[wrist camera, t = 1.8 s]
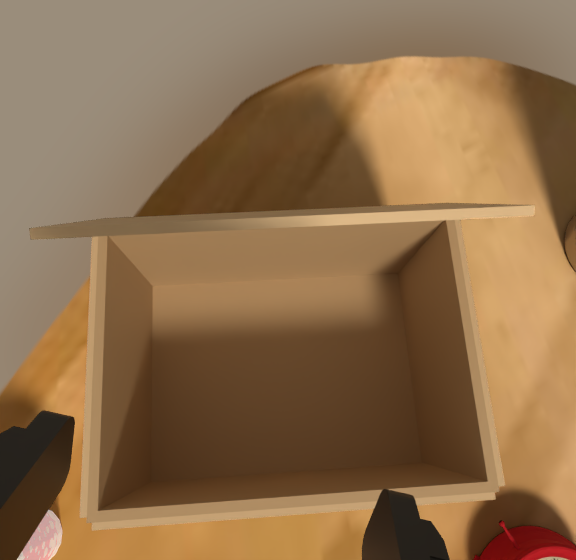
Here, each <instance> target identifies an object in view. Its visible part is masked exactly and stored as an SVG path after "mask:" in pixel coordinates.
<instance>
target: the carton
mask: <svg viewBox="0 0 576 560" xmlns="http://www.w3.org/2000/svg"><path fill="white" fill-rule="evenodd" d="M499 486H505V482H504V476H503V470H502V464H501V458H500V452H499V446H498V440H497V434H496V428H495V422H494V416H493V410H492V404H491V398H490V393H489V387H488V381H487V375H486V369H485V363H484V357H483V351H482V345H481V339H480V333H479V327H478V321H477V315H476V309H475V304H474V298H473V292H472V286H471V280H470V274H469V268H468V262H467V256H466V250H465V244H464V238H463V232H462V226H461V220H440V221H419V222H397V223H376V224H354V225H333V226H312V227H290V228H269V229H247V230H226V231H205V232H183V233H162V234H141V235H119V236H98V237H92V250H91V272H90V294H89V317H88V340H87V362H86V385H85V408H84V431H83V453H82V476H81V499H80V518H85V517H87V523H92V530H105V529H118V528H131V527H144V526H157V525H170V524H183V523H196V522H209V521H222V520H235V519H248V518H261V517H274V516H287V515H300V514H313V513H326V512H339V511H352V510H365V509H374V508H375V506H376V503H377V501H378V498H379V495H380V493H381V491H382V490H383V489H388V490H392V491H397V492H401V493H405V494H410V495H413V496H414V498H415V501H416V505H430V504H443V503H456V502H469V501H482V500H495V499H496V498H495V492H499Z"/></svg>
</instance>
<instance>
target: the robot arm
mask: <svg viewBox="0 0 576 560" xmlns="http://www.w3.org/2000/svg"><path fill="white" fill-rule="evenodd" d="M564 242H565V250H566V253H567V256H568V259H569V261H570V263H571V265H572V267H573V268H574V270H575V271H576V215H575V216H574V217H573V218H572V220H571V221H570V223H569V224H568V227H567V229H566V232H565V241H564ZM74 425H75V420H74V417H71V416H67V415H62V414H58V413H53V412H49V411H41V412H40V413H39V414H38V415H37V416H36V418H35V419H34V420H33V421H32V422H31V423H30V425H29V426H28V427H27V428H26V429H24V428H20V427H15V426H13V427H11V428H10V429H8V430H6V431H4V432H2V433H1V434H0V560H17V559H18V557H19V555H20V554H21V552H22V551H23V549H24V548H25V546H26V544H27V543H28V541H29V540H30V538H31V537H32V535H33V533H34V532H35V530H36V529H37V527H38V526H39V524H40V522H41V521H42V519H43V518H44V516H45V515H46V513H47V511H48V510H49V508H50V507H51V505H52V504H53V502H54V500H55V499H56V497H57V496H58V494H59V493H60V491H61V489H62V487H63V485H64V483H65V481H66V478H67V476H68V472H69V469H70V463H71V454H72V444H73V435H74ZM362 560H450V559H449V556H448V553H447V549H446V546H445V542H444V540H443V538H442V537H441V535H440V534H439V532H438V531H437V530H436V528H435V527H434V525H433V524H432V522H431V521H427V520H423V519H420V517H419V513H418V509H417V505H416V501H415V498H414V496H413V495H410V494H405V493H401V492H397V491H392V490H388V489H383V490H382V491H381V493H380V495H379V498H378V501H377V503H376V506H375V508H374V511H373V513H372V516H371V518H370V521H369V523H368V526H367V528H366V531H365V534H364V538H363V545H362Z"/></svg>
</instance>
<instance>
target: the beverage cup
mask: <svg viewBox="0 0 576 560" xmlns="http://www.w3.org/2000/svg"><path fill="white" fill-rule="evenodd" d="M61 538H62V528H61V524H60V520H59V519H58V517H57V516H56V515H55V514H54V512H53V511H51V510H48V511H47V513H46V515H45V516H44V518H43V519H42V521H41V522H40V524H39V526H38V527H37V529H36V530H35V532H34V533H33V535H32V537H31V538H30V540H29V541H28V543H27V544H26V546H25V548H24V549H23V551H22V552H21V554H20V555H19V557H18V559H17V560H50V559H51V558H52V557H53V556H54V555H55V554H56V552H57V550H58V548H59V546H60V544H61Z"/></svg>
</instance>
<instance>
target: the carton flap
mask: <svg viewBox="0 0 576 560" xmlns="http://www.w3.org/2000/svg"><path fill="white" fill-rule="evenodd" d="M525 216H535V205H506V204H467V203H435V204H412V205H390V206H368V207H346V208H323V209H301V210H279V211H257V212H234V213H212V214H190V215H168V216H145V217H124V218H104V219H96V220H88V221H81V222H73V223H66V224H58V225H51V226H44V227H36V228H29V231H30V238H31V240H34V239H55V238H74V237H75V238H76V237H98V236H119V235H141V234H162V233H183V232H205V231H226V230H247V229H269V228H290V227H312V226H333V225H354V224H376V223H397V222H419V221H440V220H461V219H483V218H504V217H525Z"/></svg>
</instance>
